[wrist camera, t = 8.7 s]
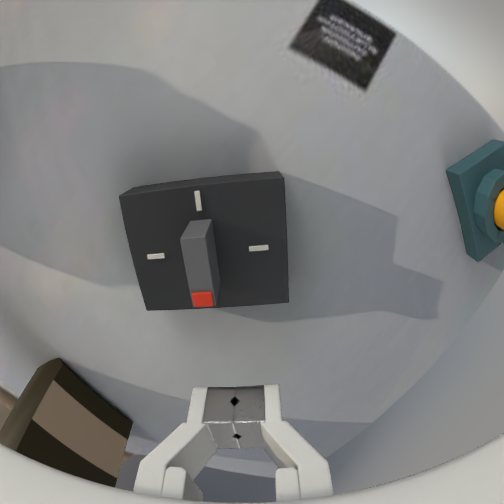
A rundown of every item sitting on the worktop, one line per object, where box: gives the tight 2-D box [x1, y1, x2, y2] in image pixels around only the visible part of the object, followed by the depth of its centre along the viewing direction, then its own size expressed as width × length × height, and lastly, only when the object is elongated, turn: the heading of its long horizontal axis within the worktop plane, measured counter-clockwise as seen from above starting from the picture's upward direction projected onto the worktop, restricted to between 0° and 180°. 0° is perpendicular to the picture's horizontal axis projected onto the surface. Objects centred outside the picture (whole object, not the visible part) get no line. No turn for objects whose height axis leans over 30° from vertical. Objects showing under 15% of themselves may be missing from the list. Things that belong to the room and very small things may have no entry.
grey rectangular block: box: [180, 219, 220, 307], centre depth 20 cm, size 5×2×4 cm, turn 5°
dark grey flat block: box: [119, 172, 289, 311], centre depth 23 cm, size 12×10×3 cm
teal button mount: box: [446, 140, 504, 262], centre depth 21 cm, size 10×8×4 cm
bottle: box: [0, 358, 133, 488], centre depth 23 cm, size 8×16×25 cm, turn 32°
